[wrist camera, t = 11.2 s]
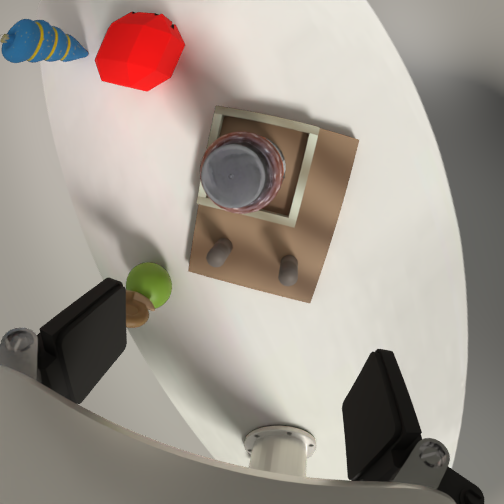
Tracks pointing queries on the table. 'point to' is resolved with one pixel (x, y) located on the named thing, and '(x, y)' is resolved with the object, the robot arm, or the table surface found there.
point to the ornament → (39, 43)
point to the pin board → (277, 210)
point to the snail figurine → (145, 292)
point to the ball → (139, 51)
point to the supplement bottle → (242, 172)
